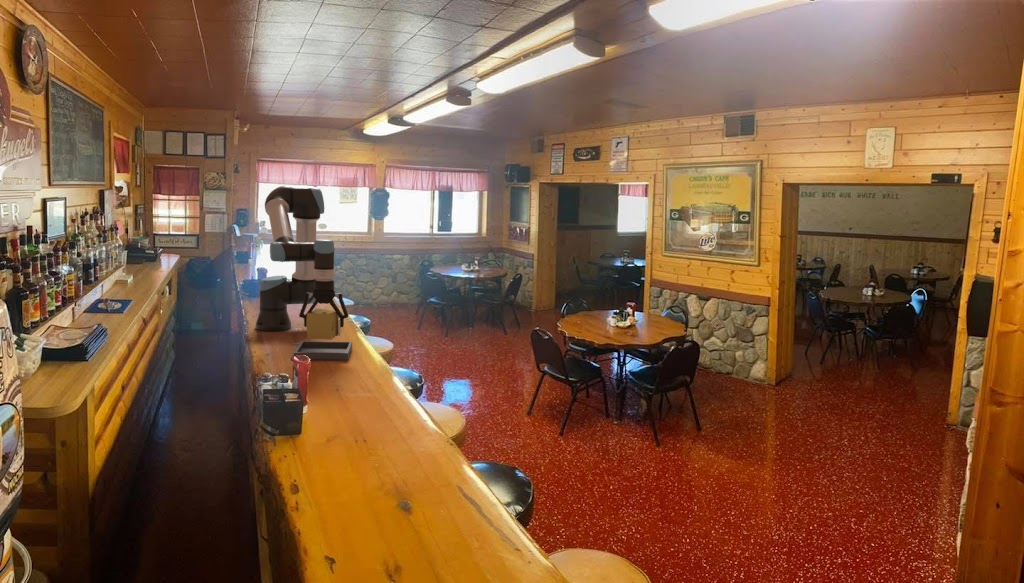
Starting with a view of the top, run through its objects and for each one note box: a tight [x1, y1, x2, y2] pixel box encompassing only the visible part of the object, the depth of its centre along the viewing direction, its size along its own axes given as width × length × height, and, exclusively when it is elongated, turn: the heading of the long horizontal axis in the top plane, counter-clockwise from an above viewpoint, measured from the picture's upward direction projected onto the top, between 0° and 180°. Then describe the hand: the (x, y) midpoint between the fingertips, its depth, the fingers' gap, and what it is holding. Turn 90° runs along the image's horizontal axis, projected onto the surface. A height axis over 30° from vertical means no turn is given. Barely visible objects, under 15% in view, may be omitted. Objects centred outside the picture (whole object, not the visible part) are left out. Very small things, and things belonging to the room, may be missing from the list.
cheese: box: [306, 308, 339, 341], centre depth 252 cm, size 10×11×10 cm
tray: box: [292, 340, 353, 362], centre depth 254 cm, size 18×20×3 cm
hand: (324, 335), depth 253 cm, fingers closed on cheese, 11 cm apart
